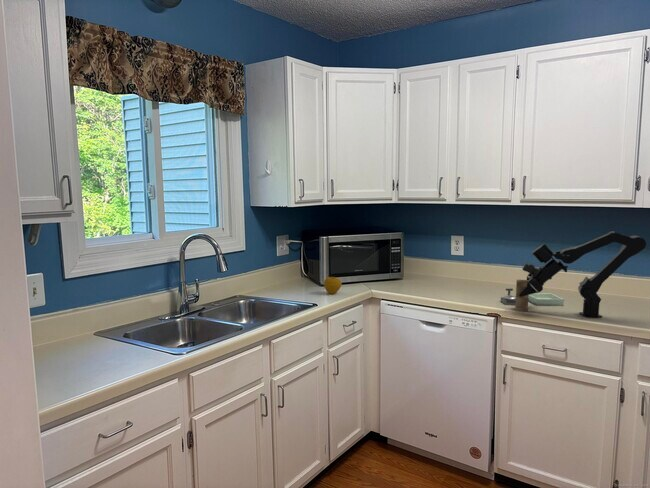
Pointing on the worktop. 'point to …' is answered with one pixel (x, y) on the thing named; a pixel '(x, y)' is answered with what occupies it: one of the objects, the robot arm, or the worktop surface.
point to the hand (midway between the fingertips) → (519, 293)
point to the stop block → (521, 301)
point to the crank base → (508, 301)
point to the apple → (332, 285)
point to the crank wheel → (509, 297)
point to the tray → (545, 299)
